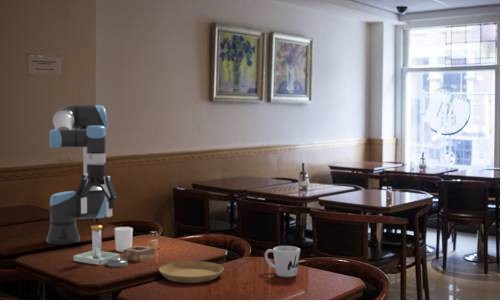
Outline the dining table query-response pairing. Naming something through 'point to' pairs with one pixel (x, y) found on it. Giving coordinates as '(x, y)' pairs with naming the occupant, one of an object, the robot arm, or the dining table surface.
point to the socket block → (138, 253)
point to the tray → (88, 259)
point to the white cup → (123, 238)
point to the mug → (284, 260)
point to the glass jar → (96, 241)
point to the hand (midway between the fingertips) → (96, 214)
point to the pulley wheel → (117, 262)
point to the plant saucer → (191, 271)
